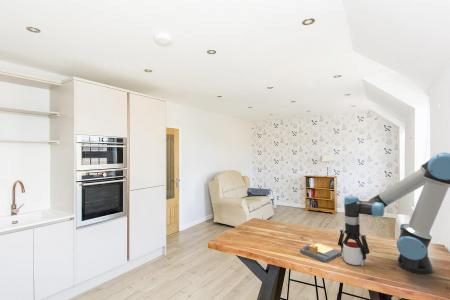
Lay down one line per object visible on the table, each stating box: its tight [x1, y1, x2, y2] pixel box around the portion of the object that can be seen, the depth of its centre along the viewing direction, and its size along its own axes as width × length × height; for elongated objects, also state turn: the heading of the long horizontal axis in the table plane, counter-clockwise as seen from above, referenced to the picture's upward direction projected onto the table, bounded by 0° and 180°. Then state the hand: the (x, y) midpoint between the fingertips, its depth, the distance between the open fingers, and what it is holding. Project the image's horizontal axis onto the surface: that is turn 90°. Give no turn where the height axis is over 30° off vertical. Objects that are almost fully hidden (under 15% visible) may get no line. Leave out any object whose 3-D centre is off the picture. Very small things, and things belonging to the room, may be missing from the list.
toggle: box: [309, 244, 318, 254], centre depth 150 cm, size 4×3×4 cm
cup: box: [342, 241, 362, 266], centre depth 141 cm, size 10×10×10 cm
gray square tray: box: [299, 243, 343, 264], centre depth 153 cm, size 18×17×5 cm
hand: (353, 261), depth 141 cm, fingers closed on cup, 10 cm apart
